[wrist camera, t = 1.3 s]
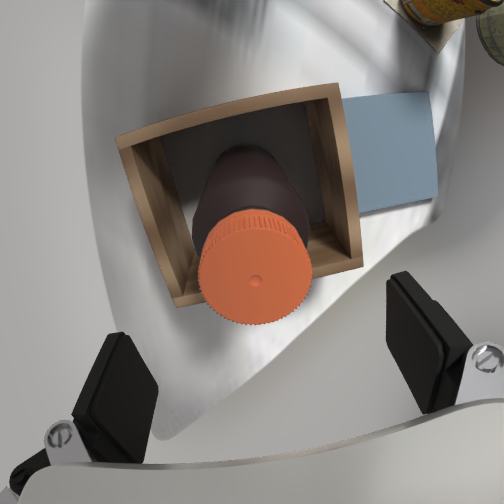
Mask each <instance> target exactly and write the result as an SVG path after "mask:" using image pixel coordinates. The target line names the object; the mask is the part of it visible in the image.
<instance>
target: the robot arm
mask: <svg viewBox="0 0 504 504" xmlns="http://www.w3.org/2000/svg"><path fill="white" fill-rule="evenodd" d="M386 297H387V298H386V299H387V300H386V303H387V304H386V342H387V346H388V348H389V350H390V352H391V354H392V356H393V358H394V359H395V361H396V363H397V365H398V367H399V369H400V371H401V373H402V374H403V376H404V379H405V381H406V382H407V384H408V386H409V388H410V390H411V392H412V394H413V396H414V398H415V400H416V402H417V404H418V406H419V408H420V410H421V412H422V414H427V415H424V416H421V417H419V418H416V419H413V420H410V421H407V422H404V423H401V424H398V425H395V426H392V427H389V428H385V429H382V430H379V431H375V432H372V433H369V434H366V435H362V436H358V437H355V438H351V439H347V440H343V441H339V442H335V443H331V444H327V445H322V446H318V447H313V448H308V449H303V450H298V451H293V452H287V453H281V454H275V455H269V456H263V457H255V458H247V459H239V460H229V461H218V462H203V463H183V464H142V463H143V461H144V457H145V452H146V447H147V442H148V438H149V433H150V428H151V423H152V419H153V414H154V410H155V405H156V401H157V396H158V385H157V383H156V381H155V379H154V378H153V376H152V374H151V373H150V371H149V369H148V368H147V366H146V364H145V363H144V361H143V359H142V357H141V356H140V354H139V352H138V350H137V348H136V347H135V345H134V343H133V341H132V339H131V338H130V336H129V335H126V334H125V333H124V332H117V333H111V334H108V335H107V337H106V339H105V341H104V343H103V345H102V348H101V350H100V352H99V354H98V356H97V358H96V360H95V362H94V365H93V367H92V369H91V371H90V373H89V375H88V378H87V380H86V382H85V384H84V386H83V389H82V391H81V393H80V395H79V398H78V400H77V402H76V405H75V407H74V409H73V412H72V414H71V415H72V416H73V417H74V420H73V422H71V421H69V420H60V421H58V422H56V423H54V424H53V425H52V426H51V427H50V428H49V429H48V430H47V432H46V434H45V437H44V444H45V448H44V449H43V450H41V451H40V452H38V453H37V454H35V455H34V456H32V457H31V458H29V459H27V460H26V461H24V462H23V463H22V464H20V465H18V466H17V467H16V468H15V469H14V470H13V472H12V473H11V476H10V481H9V483H10V488H9V487H7V486H6V487H5V488H4V489H3V490H2V492H1V493H0V504H504V348H503V347H502V346H500V345H498V344H496V343H493V342H481V343H478V344H476V345H473V344H472V343H471V342H470V340H469V339H468V338H467V337H466V335H465V334H464V333H463V332H462V330H461V329H460V328H459V327H458V325H457V324H456V323H455V322H454V320H453V319H452V318H451V317H450V316H449V314H448V313H447V312H446V311H445V310H444V309H443V307H442V306H441V305H440V304H439V303H438V302H437V301H435V300H432V299H431V297H430V296H429V295H428V294H427V293H426V292H425V290H424V289H423V288H422V287H421V286H420V285H419V284H418V283H417V281H416V280H415V279H414V278H413V277H412V276H411V275H410V274H409V272H407V271H404V272H400V273H396V274H393V275H391V278H390V280H387V282H386Z"/></svg>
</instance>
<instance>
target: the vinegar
mask: <svg viewBox="0 0 504 504" xmlns="http://www.w3.org/2000/svg"><path fill="white" fill-rule="evenodd" d="M309 235H310V225H309V219H308V213H307V210H306V209H305V207H304V205H303V203H302V201H301V199H300V197H299V196H298V194H297V193H296V191H295V189H294V188H293V186H292V185H291V183H290V182H289V180H288V179H287V177H286V176H285V174H284V173H283V171H282V170H281V168H280V167H279V165H278V164H277V162H276V161H275V159H274V158H273V157H272V156H271V155H270V154H269V153H268V152H267V151H266V150H264V149H262V148H259V147H257V146H254V145H240V146H235V147H232V148H230V149H229V150H227V151H225V152H224V153H223V154H222V155H221V156H220V157H219V158H218V159H217V161H216V163H215V165H214V168H213V170H212V172H211V175H210V177H209V180H208V182H207V185H206V187H205V189H204V192H203V194H202V197H201V199H200V202H199V204H198V207H197V210H196V212H195V215H194V217H193V224H192V240H193V243H194V246H195V249H196V252H197V255H198V256H199V258H200V264H199V269H198V281H199V285H200V290H201V294H203V297H204V298H205V301H207V302H208V304H210V305H211V306H210V308H213V309H214V310H213V311H216V312H217V314H218V313H219V314H221V315H220V316H224V318H227V319H228V320H232V322H234V321H235V322H237V323H241V324H246V325H247V324H250V325H251V324H255V325H260V324H265V323H269V322H274V321H276V320H277V321H278V319H280V318H281V319H282V317H284V316H285V317H286V315H288V314H290V313H291V312H294V311H293V310H294V309H297V306H300V303H301V302H303V301H302V300H303V299H305V295H307V292H308V291H309V287H311V286H310V283H312V282H311V279H312V276H311V275H312V274H313V273H312V267H311V266H312V264H311V260H310V258H309V255H308V253H307V251H306V249H307V246H308V240H309Z"/></svg>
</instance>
